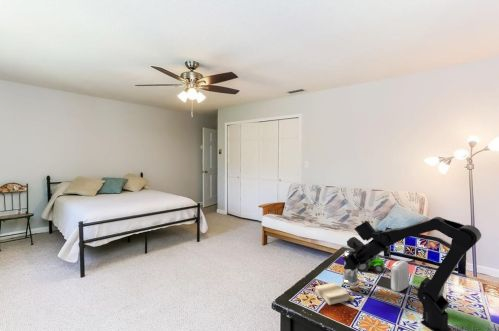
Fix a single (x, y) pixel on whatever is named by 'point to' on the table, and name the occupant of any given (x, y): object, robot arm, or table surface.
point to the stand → (332, 293)
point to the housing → (350, 272)
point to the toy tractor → (376, 263)
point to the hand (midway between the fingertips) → (348, 266)
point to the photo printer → (399, 275)
